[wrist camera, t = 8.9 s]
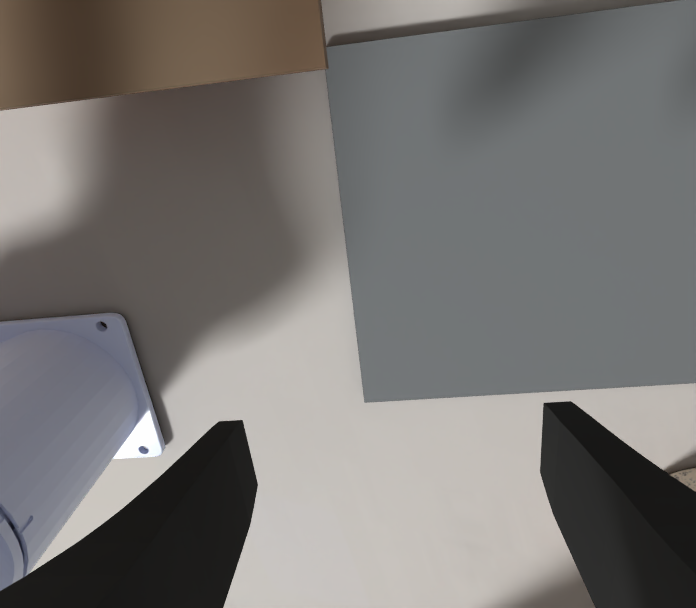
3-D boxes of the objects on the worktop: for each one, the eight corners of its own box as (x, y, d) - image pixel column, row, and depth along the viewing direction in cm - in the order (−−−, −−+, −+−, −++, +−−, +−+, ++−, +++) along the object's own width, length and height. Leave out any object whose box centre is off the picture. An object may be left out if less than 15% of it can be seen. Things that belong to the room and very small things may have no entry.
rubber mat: (364, 396, 24) (364, 402, 23) (324, 48, 18) (322, 47, 17) (695, 376, 22) (702, 382, 22) (769, -11, 16) (780, -14, 16)
